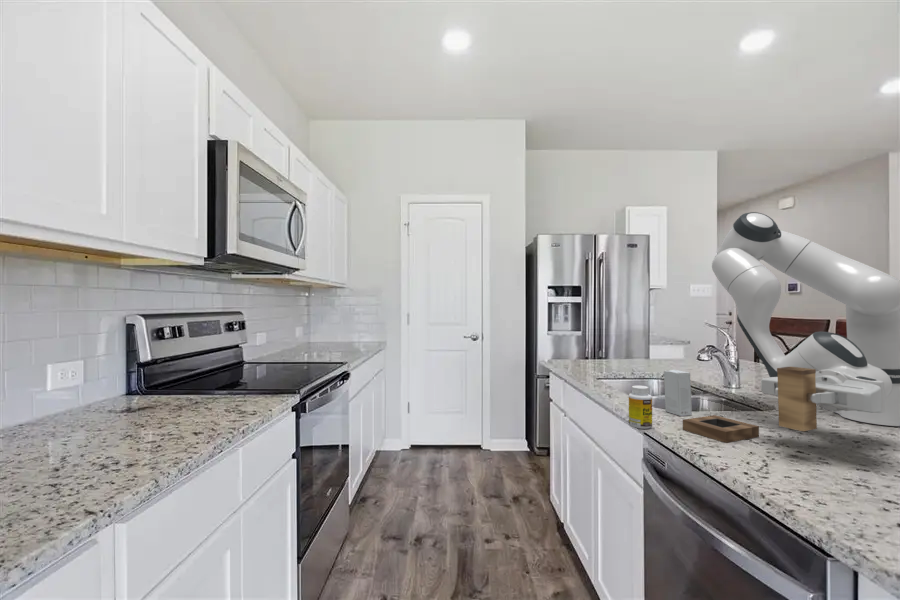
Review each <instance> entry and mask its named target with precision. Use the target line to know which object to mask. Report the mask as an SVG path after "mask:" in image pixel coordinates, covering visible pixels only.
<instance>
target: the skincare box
mask: <svg viewBox="0 0 900 600" xmlns="http://www.w3.org/2000/svg"><path fill="white" fill-rule="evenodd" d="M663 382H664V384H663V385H664V404H665V407H664V408H665V412H667V413H669V414H672V415H675V416H676V415H677V416H679V417H688V416H690V417H691V416H692V415H693V410H692V409H693V407H692V388H691V387H692V385H691V372H688V371H683V370H678V369H666V370H665V369H664V370H663Z"/></svg>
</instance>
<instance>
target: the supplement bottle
mask: <svg viewBox="0 0 900 600" xmlns="http://www.w3.org/2000/svg"><path fill="white" fill-rule="evenodd" d="M628 424H629V426H630V427H631V428H634V429H639V430H648V429H649V430H650V429H651V428H653V396H652V394H650V389H649V386H648V385H647V386H646V385H632V386H631V393H629V394H628Z"/></svg>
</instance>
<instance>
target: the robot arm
mask: <svg viewBox="0 0 900 600" xmlns="http://www.w3.org/2000/svg"><path fill="white" fill-rule="evenodd" d="M719 247H720V248H719V249H718V252H717V254H716V255H715V256H714V258H713V260H712V262H711V270H712V272H713V273H714V275H715V277H716V279H717V280H718V282H719V283H720V284H721V286H722V287H723V289H725V291H726V292H727V293H729V295H730V296H731V297H732V299H733V301H734V305H735V306H736V310H737V316H736V320H737V322H738V325H739V327H740V328H741V330H742V332H743V333H744V336H745V337H746V339H747V340H748V342H749V343H750V345H751V347H752V348H753V349H754V351H755V353H756V354H757V356H758V358H759V360H760V361H761V362H762V364H763V365H764V367H765V369H766V371H767V374H768V376H769V377H763V378H761V379H760V391H761V392H762V394H763V395H769V396H774V397H777V398H778V372H777V368H783V367H799V368H808V369H816V373H815V380H816V393H812V392H811V393H807V402H811V403H816V406H818V407H820V408H822V409H824V410H826V411H831V412H833V413H836V414H838V415H839V416H841V417H842V418H845V419H849V420H852V421H857V422H861V423H866V424H873V425H879V426H881V425H882V426H887V427H888V426H890V427H900V279H899V278H898V277H895V276H893V275H891V274H890V273H886V272H884V271H882V270H879V269H878V268H875V267H872V266H870V265H868V264H866V263H863V262H861V261H858V260H855V259H853V258H850V257H848V256H846V255H843V254H841V253H839V252H837V251H835V250H832V249H830V248H828V247H826V246H823V245H822V244H819V243H817V242H815V241H813V240H811V239H808V238H806V237H803V236H801V235H798V234H795V233H793V232H789V231H786V230H782V229H780V228H779V226H778V224H777V223H776V221H775V220H774V219H773V218H771V217H770V216H768V215H767V214H764V213H761V212H757V211H750V212H745V213H742V214H741V215H740V216H739V217H738V218H737V219H736V220H735V221H734V222H733V225H732V227H731V228H730V229H729V231H728V232H727V233H726V235H725V237H723V240H722V243H721V245H720V246H719ZM761 261H764V262H765V263H766V264H768V265H770V266H771V267H772V268H774V269H776V270H777V271H779V272H781V273H783V274H785V275H787V276H789V277H791V278H793V279H794V280H796V281H798V282H801V283H802V284H804V285H806V286H808V287H810V288H812V289H814V290H816V291H818V292H820V293H822V294H824V295H826V296H828V297H830V298H832V299H834V300H836V301H838V302H839V303H842V304H843V305H845V321H846V323H845V324H846V336H844V335H841V334H839V333H834V332H830V331H815V332H813V333H812V334H811V335H809V336H808V337H806V339H804V340H803V341H802V342H801V343H799V344H798V346H797V347H795V348H794V349H793V350H792V351H791V352H789V353H788V354H787V355H786V354H785V353H784V351H783V350H782V348H781V347H780V346H779V344H778V342H777V341H776V340H775V339H774V337H773V335H772V333H771V331H770V330H771V329H770V323H771V318H772V315H773V313H774V311H775V309H776V307H777V305H778V303H779V301H780V299H781V294H782V286H781V282H780V280H779V279H778V277H777V276H776V275H775V274H774V273H773V272H772V271H771V270H770V269H769V268H768V267H766V265H764V264H763V263H762V262H761Z"/></svg>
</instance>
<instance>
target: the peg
mask: <svg viewBox="0 0 900 600" xmlns="http://www.w3.org/2000/svg"><path fill="white" fill-rule="evenodd" d="M777 372H778V397H777V400H778V402H777V403H778V405H777V406H778V409H777V410H778V426H779V427H783V428H786V429H790V430H795V431H800V432H806V431H807V432H808V431H811V430H812V431H813V430H816V429H817V426H818V423H817V422H818V421H817V419H818V417H817V404H816V403H811V402H807V393H811V392H812V393H816V380H815V373H816V369H808V368H799V367H783V368H777Z"/></svg>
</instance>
